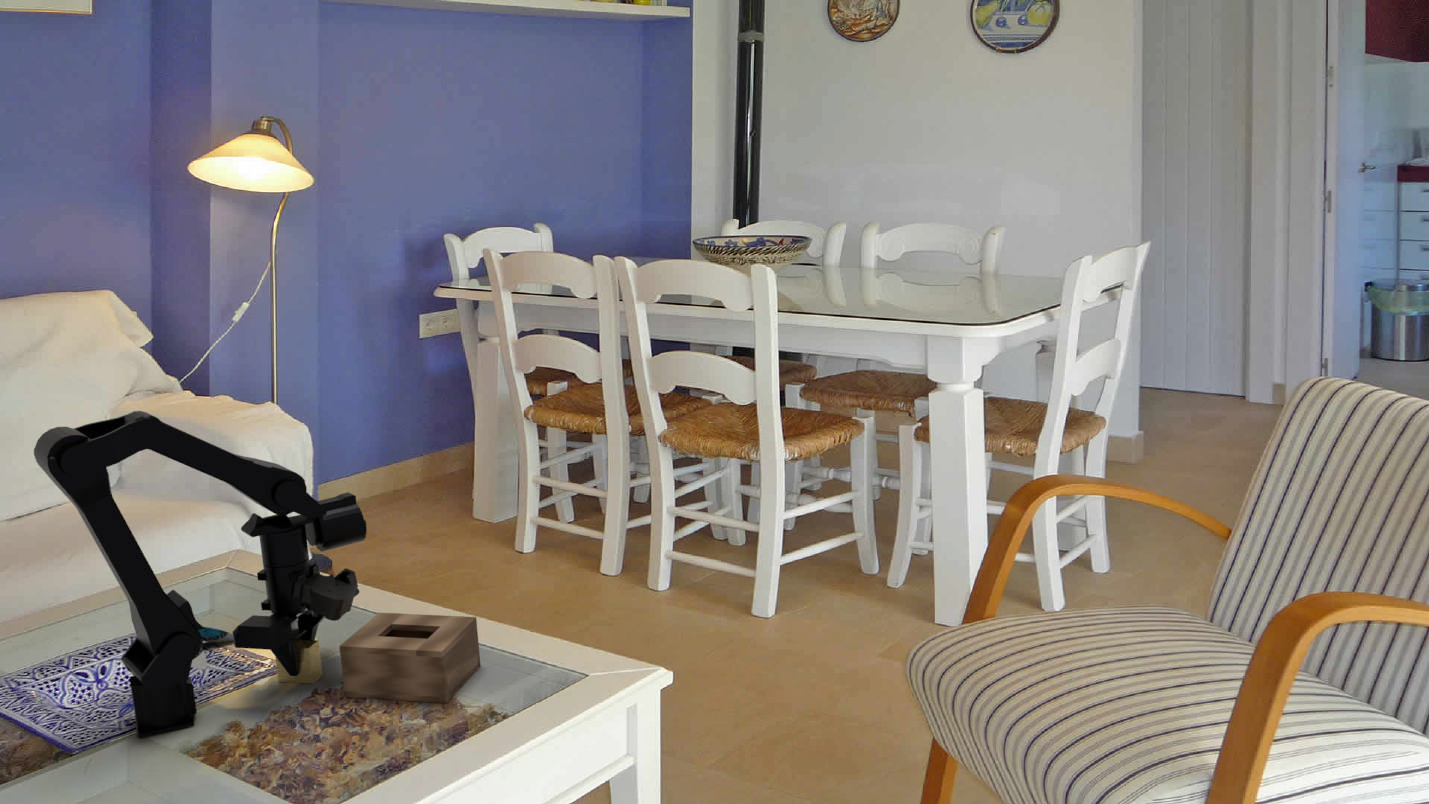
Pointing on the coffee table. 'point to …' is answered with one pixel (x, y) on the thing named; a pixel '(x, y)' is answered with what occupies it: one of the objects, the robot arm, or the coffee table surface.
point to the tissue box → (410, 657)
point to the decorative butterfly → (209, 636)
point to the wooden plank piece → (304, 664)
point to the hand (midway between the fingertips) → (299, 671)
